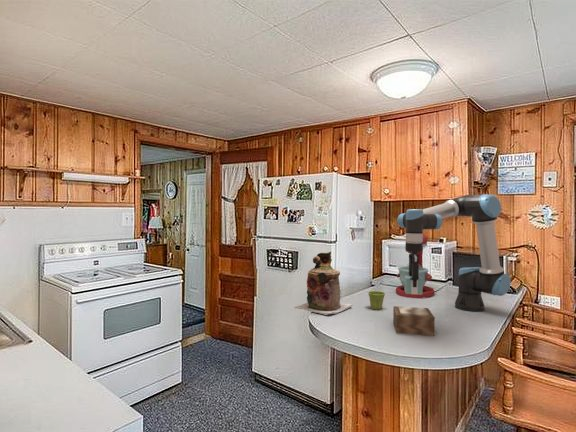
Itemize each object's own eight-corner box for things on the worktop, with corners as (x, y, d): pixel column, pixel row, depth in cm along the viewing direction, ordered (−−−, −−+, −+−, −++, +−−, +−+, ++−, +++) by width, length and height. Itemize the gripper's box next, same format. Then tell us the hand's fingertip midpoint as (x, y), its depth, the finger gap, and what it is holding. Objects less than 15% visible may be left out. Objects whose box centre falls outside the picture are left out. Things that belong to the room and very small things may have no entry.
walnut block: (427, 324, 177) (428, 307, 177) (434, 335, 162) (434, 316, 162) (393, 322, 181) (393, 305, 180) (396, 332, 165) (396, 313, 165)
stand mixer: (390, 295, 241) (391, 233, 240) (403, 287, 267) (404, 231, 267) (428, 300, 228) (429, 235, 227) (438, 291, 254) (439, 233, 254)
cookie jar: (317, 301, 223) (318, 247, 223) (354, 308, 208) (354, 251, 207) (292, 309, 204) (293, 251, 204) (330, 317, 189) (331, 254, 188)
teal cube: (420, 291, 174) (420, 276, 174) (422, 294, 167) (422, 279, 167) (404, 290, 175) (404, 276, 175) (406, 293, 168) (406, 278, 168)
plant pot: (385, 311, 202) (385, 295, 202) (367, 309, 204) (368, 294, 204) (384, 306, 211) (384, 291, 211) (367, 305, 213) (367, 290, 213)
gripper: (403, 240, 181) (402, 287, 181) (408, 244, 162) (407, 296, 162) (419, 241, 180) (418, 288, 180) (426, 244, 160) (425, 297, 160)
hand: (413, 292), depth 171 cm, fingers closed on teal cube, 7 cm apart
